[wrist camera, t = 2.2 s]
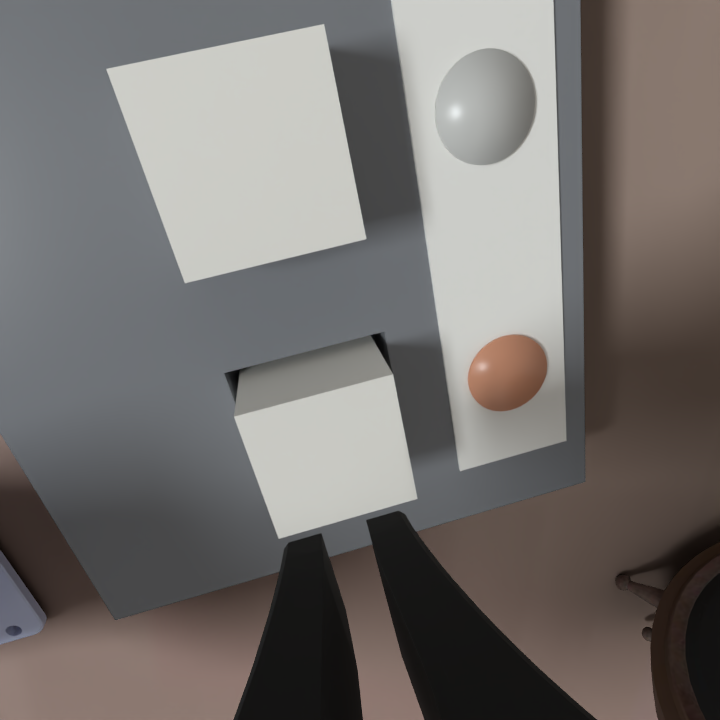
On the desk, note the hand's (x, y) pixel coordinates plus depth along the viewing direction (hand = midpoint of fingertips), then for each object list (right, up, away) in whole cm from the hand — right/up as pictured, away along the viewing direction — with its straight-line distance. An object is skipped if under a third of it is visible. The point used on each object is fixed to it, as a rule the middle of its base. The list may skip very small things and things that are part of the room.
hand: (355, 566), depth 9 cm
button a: (-1, +3, +6) cm, 7 cm away
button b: (-3, +9, +3) cm, 10 cm away
